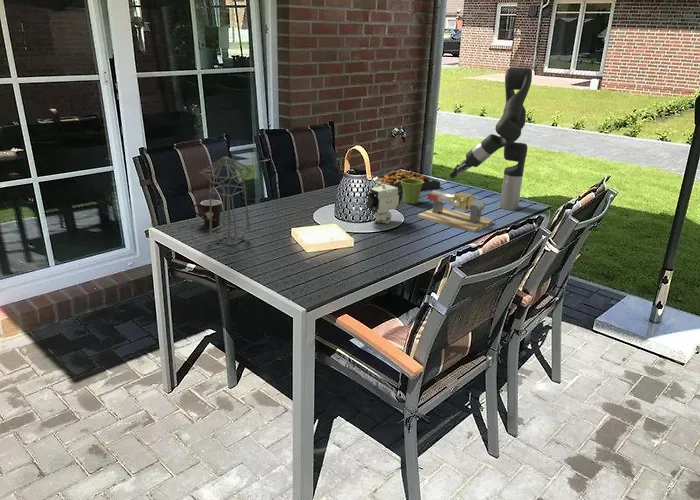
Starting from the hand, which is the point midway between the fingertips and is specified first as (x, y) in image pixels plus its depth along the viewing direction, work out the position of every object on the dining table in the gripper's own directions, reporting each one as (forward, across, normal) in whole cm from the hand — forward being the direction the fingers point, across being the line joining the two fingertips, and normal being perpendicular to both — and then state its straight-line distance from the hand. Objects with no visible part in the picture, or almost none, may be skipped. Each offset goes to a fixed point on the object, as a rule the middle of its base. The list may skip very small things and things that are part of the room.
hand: (451, 176), depth 248 cm
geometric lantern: (+51, +86, -20) cm, 102 cm away
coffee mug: (+68, +79, -37) cm, 110 cm away
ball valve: (+31, +21, 0) cm, 38 cm away
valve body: (+14, -5, +15) cm, 21 cm away
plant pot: (+38, -16, -6) cm, 41 cm away
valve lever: (+4, 0, +12) cm, 13 cm away
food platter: (+56, -36, -23) cm, 70 cm away
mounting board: (+15, -6, +16) cm, 23 cm away
